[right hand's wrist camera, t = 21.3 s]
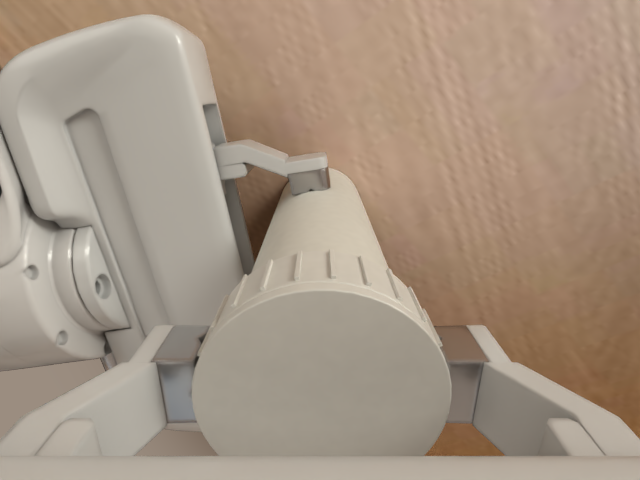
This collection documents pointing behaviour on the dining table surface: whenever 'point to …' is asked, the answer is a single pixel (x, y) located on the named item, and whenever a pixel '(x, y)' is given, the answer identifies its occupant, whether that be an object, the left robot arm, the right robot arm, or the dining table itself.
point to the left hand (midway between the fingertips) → (338, 233)
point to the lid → (321, 363)
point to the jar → (321, 224)
